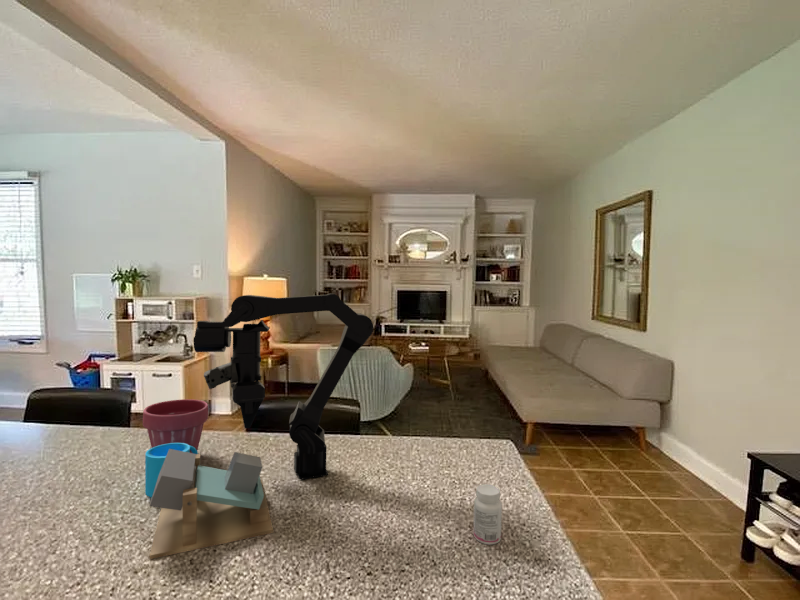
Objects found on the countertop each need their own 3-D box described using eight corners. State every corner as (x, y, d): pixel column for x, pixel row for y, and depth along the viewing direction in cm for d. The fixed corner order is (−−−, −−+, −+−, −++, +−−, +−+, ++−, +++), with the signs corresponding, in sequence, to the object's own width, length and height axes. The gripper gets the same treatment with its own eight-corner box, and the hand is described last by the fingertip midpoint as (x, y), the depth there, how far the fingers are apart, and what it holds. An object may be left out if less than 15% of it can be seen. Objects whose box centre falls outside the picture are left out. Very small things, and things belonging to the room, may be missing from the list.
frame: (262, 486, 89) (262, 444, 88) (273, 532, 72) (273, 481, 72) (163, 503, 81) (163, 457, 81) (149, 559, 65) (149, 502, 64)
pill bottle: (481, 525, 76) (482, 480, 75) (505, 536, 73) (507, 488, 72) (468, 537, 72) (469, 489, 72) (493, 549, 69) (494, 499, 69)
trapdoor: (249, 490, 85) (258, 466, 85) (254, 520, 74) (265, 493, 74) (158, 474, 78) (169, 448, 79) (149, 506, 67) (161, 475, 68)
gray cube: (250, 482, 81) (260, 457, 82) (252, 493, 77) (262, 467, 77) (224, 477, 79) (234, 451, 80) (224, 489, 75) (235, 462, 75)
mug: (167, 501, 82) (167, 460, 82) (135, 494, 85) (135, 454, 84) (211, 475, 94) (211, 439, 93) (182, 469, 96) (183, 434, 96)
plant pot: (219, 455, 104) (220, 404, 104) (163, 476, 93) (163, 419, 92) (187, 442, 112) (187, 395, 112) (131, 460, 100) (131, 408, 100)
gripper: (207, 347, 97) (206, 413, 98) (205, 360, 80) (204, 440, 81) (257, 345, 102) (256, 408, 102) (265, 357, 85) (265, 433, 85)
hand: (246, 421), depth 92 cm, fingers open, 9 cm apart
